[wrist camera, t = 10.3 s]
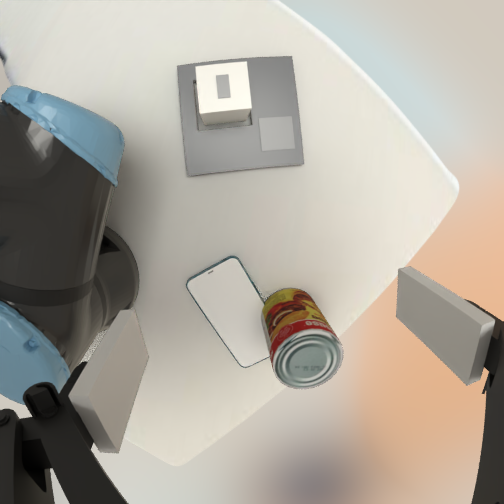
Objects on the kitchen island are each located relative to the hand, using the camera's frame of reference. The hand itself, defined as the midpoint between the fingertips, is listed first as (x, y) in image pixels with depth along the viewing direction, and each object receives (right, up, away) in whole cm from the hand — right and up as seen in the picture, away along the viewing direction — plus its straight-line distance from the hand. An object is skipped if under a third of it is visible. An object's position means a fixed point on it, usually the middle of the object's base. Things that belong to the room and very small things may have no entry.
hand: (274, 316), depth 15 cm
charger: (-5, +21, +22) cm, 31 cm away
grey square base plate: (-3, +20, +22) cm, 30 cm away
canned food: (+4, -6, +30) cm, 30 cm away
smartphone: (-3, -6, +29) cm, 30 cm away
